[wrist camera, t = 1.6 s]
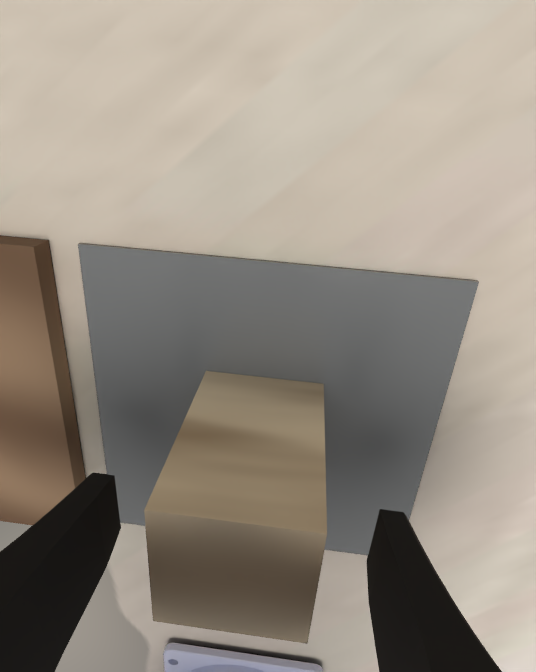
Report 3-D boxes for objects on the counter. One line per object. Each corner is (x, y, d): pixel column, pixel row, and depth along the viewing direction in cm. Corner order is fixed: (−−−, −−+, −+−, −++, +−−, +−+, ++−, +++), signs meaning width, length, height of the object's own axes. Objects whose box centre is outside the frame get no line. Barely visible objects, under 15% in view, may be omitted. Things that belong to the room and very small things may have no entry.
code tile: (397, 556, 18) (397, 559, 18) (114, 519, 19) (112, 521, 19) (477, 280, 13) (479, 282, 13) (79, 243, 14) (77, 244, 14)
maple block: (310, 474, 17) (307, 643, 11) (205, 461, 17) (152, 620, 11) (323, 383, 15) (327, 533, 9) (205, 370, 15) (144, 509, 10)
